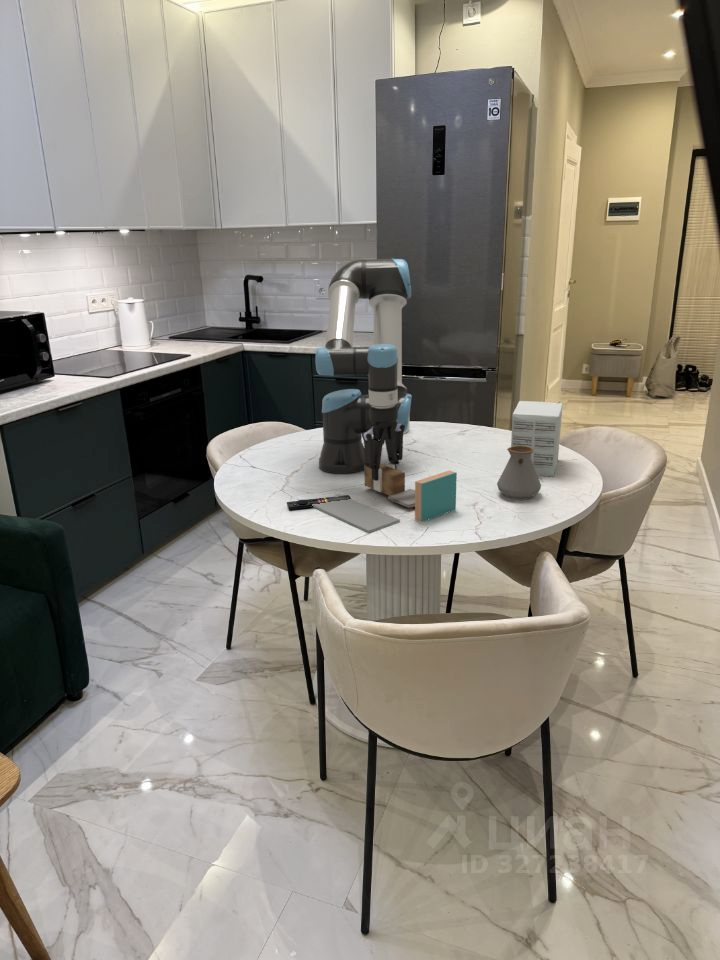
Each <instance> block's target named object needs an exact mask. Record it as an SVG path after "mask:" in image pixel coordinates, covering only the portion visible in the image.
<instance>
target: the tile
mask: <svg viewBox="0 0 720 960" xmlns="http://www.w3.org/2000/svg"><path fill="white" fill-rule="evenodd" d="M414 482H415V483H414V484H415V485H414V486H415V487H414V491H415V506H414V519H415V520H416V521H419V522H420V523H424V522H426V521H429V520H432V519H434V518H437V517H439V515H440V516H442V515H445V514H447V512H448V513H449V511H450V512H452V510H453V511H456V510H455V509H457V472H455V471H453V470H446V471H443V472H440V473H436V474H434V475H430V476H428V477H424V478H422V479H418V480H416V481H414ZM436 516H437V517H436ZM431 518H432V519H431ZM428 519H429V520H428ZM423 521H424V522H423Z"/></svg>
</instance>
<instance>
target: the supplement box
mask: <svg viewBox="0 0 720 960" xmlns="http://www.w3.org/2000/svg"><path fill="white" fill-rule="evenodd" d="M562 415H563V402H548V401H534V400H533V401H531V400H519V401H518V403H517V405H516V407H515V408H514V411H513V412H512V415H511V416H512V420H511V423H512V424H511V440H510V447H513V446H527V447H530V448H532V449H533V450H534V451H533V452H532V454H531V460H532V463H533V465H534V468H535V471H536V473H537V476H540V477H541V476H542V477H543V476H544V477H555V471H556V468H557V464H558V460H559V453H560V451H559V450H560V440H561V439H560V438H561V427H562V426H561V425H562V418H563V417H562ZM510 457H511V455H510ZM510 457H509V458H510Z"/></svg>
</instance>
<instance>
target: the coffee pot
mask: <svg viewBox="0 0 720 960" xmlns="http://www.w3.org/2000/svg"><path fill="white" fill-rule="evenodd" d="M507 451H508V453H509V455H510V456H511V457H509V459H508V461H507V462H506V465H505V467H504V469H503V471H502V473H501V475H500V476H499V479H498V480H497V483H496V485H497V488H498V490H499V491H500V493H501V494H503V495H504V496H505V498H508V499H510V498H511V500H515V499H517V501H519V500H521V501H523V500H524V501H525V499H526V500H530V499H532V498H534V496H535V495H537V494H539V492H540V490H541V488H542V484H541V481H540V480H539V475H537V473H536V471H535V468H534V465H533V463H532V460H531V454H532V452H533V451H534V450H533V449H532V448H530V447H527V446H513V447H511V446H510V447H508V448H507Z"/></svg>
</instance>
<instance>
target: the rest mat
mask: <svg viewBox="0 0 720 960" xmlns="http://www.w3.org/2000/svg"><path fill="white" fill-rule="evenodd" d="M336 496H344V495H343V494H336V495H333V496H332V497H336ZM312 506H313V507H312ZM312 506H311V507H312V508H314V509H316V510H319V511H321V512H323V513H325V514H327V515H329V516H330V517H331V516H332V517H334V518H336V519H338V520H339V521H341V522H344V523H346V524H348V525H350V526H353V527H355V528H358V529H359V530H362V531H363V532H365V533H367V534H370V533H372V532H375V531H376V532H377V531H379V530H381V529H384V528H387V527H389V526H393V525H395V524H398V523H400V522H401V520H400V518H398V517H395V516H392V515H390V514H387V513H385V512H384V511H380V510H378V509H376V508H375V507H372V506H369V505H366V504H364V503H362V502H359V501H357V500H354V499H351V498H350V499H348V500H340V501H331V502H326V503H320V504H312Z"/></svg>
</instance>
